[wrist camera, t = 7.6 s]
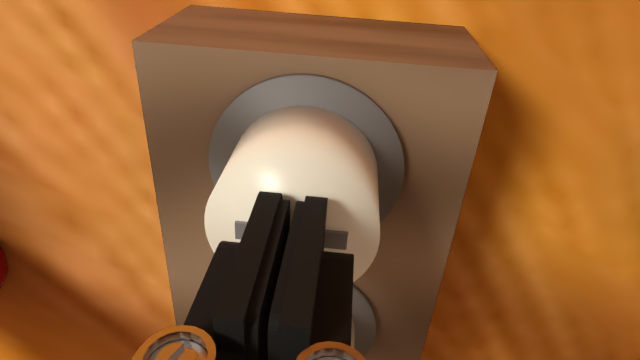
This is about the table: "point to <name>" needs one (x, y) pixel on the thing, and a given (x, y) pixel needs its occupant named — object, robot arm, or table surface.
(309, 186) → the knob
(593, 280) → the table surface
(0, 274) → the plastic cup
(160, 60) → the knob bar
